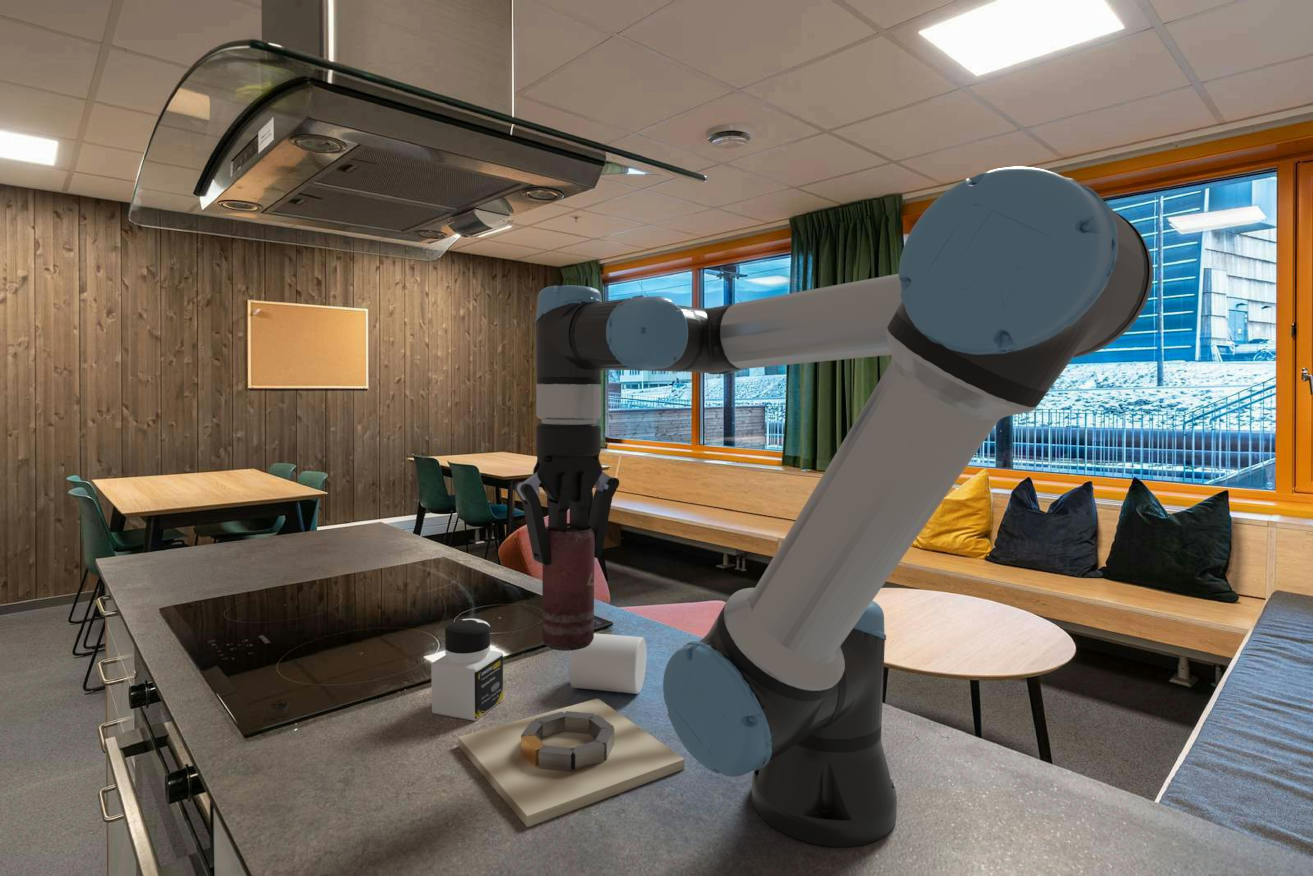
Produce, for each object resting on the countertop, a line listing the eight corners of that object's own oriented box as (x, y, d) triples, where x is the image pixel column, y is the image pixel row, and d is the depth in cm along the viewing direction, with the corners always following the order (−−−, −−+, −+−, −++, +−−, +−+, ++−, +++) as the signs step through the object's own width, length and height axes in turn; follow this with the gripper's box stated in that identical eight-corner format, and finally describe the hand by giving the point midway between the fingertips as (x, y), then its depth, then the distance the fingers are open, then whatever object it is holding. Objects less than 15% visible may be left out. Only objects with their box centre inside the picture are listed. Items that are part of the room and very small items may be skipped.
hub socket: (628, 753, 85) (628, 737, 85) (548, 780, 79) (548, 763, 79) (584, 719, 93) (584, 705, 93) (509, 741, 87) (509, 726, 87)
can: (561, 630, 89) (562, 519, 89) (603, 639, 86) (604, 525, 85) (529, 644, 84) (530, 527, 83) (572, 655, 81) (573, 533, 80)
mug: (634, 703, 102) (635, 648, 101) (567, 696, 104) (567, 642, 103) (652, 671, 113) (652, 621, 113) (591, 665, 115) (591, 617, 115)
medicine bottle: (475, 722, 95) (475, 633, 94) (430, 714, 97) (429, 627, 97) (504, 700, 102) (503, 617, 101) (461, 693, 104) (460, 612, 103)
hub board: (684, 768, 84) (684, 759, 84) (527, 827, 72) (527, 816, 72) (597, 706, 100) (597, 698, 100) (458, 746, 89) (458, 736, 88)
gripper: (602, 419, 91) (600, 602, 92) (501, 421, 83) (501, 620, 84) (634, 422, 84) (632, 617, 86) (529, 424, 77) (529, 639, 78)
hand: (567, 619), depth 85 cm, fingers closed
